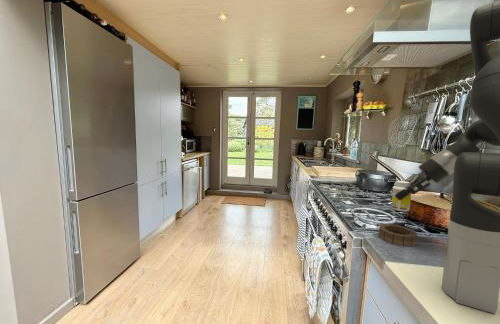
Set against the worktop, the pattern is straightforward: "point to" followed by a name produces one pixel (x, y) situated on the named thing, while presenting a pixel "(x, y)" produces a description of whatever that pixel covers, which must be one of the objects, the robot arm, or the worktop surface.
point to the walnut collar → (397, 235)
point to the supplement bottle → (403, 203)
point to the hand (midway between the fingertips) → (395, 196)
